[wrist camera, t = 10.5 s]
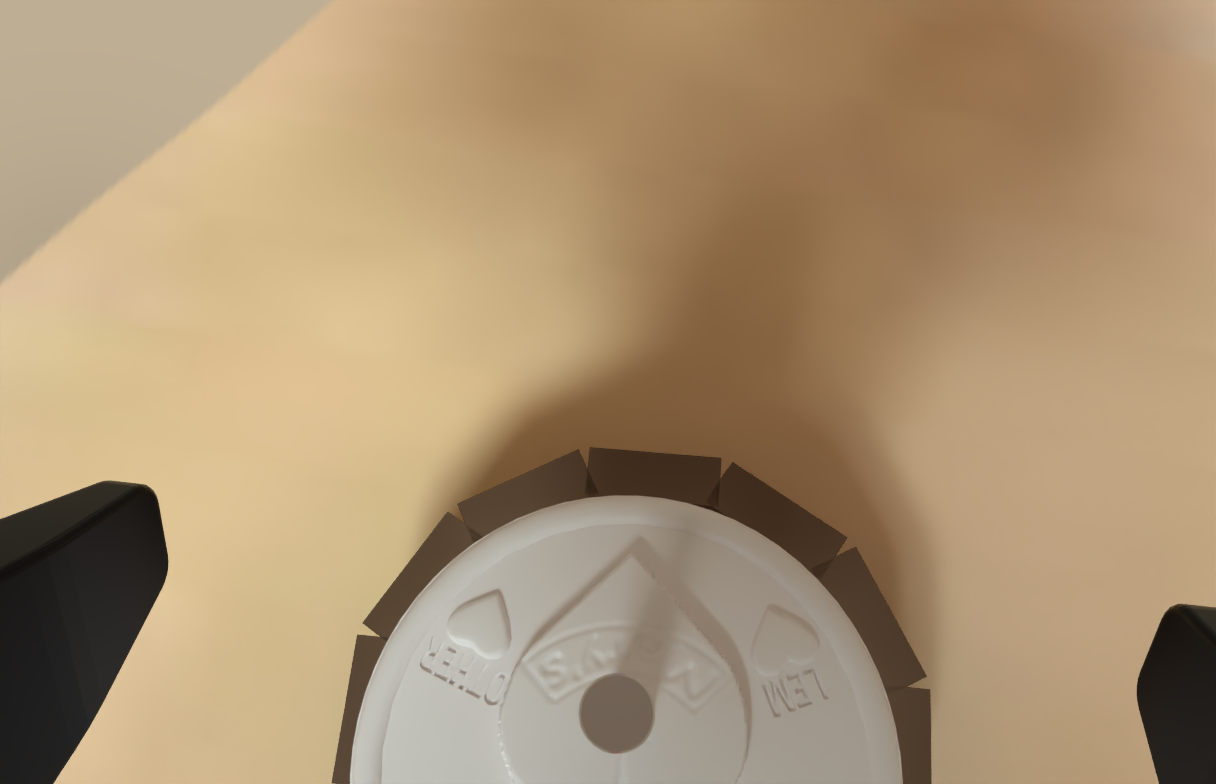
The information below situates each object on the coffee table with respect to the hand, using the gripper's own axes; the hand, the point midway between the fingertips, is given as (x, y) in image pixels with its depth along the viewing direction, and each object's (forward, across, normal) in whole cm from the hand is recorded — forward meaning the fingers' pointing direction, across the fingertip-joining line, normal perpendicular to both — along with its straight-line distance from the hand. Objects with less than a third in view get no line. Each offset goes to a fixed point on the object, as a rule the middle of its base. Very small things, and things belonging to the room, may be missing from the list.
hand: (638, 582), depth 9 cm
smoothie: (+8, 0, +10) cm, 13 cm away
